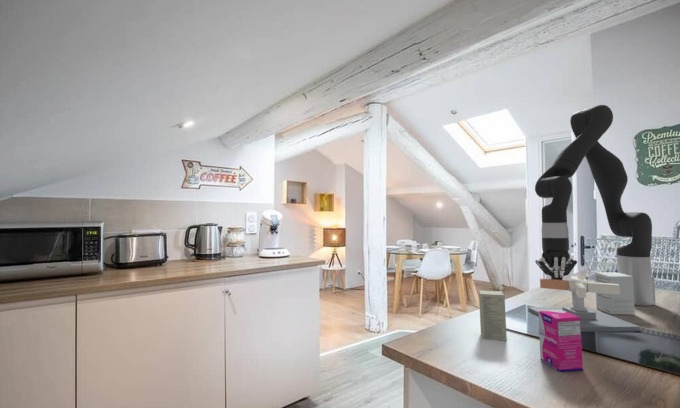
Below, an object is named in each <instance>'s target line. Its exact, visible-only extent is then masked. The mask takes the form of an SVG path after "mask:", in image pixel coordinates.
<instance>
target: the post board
mask: <svg viewBox="0 0 680 408" xmlns="http://www.w3.org/2000/svg"><path fill="white" fill-rule="evenodd" d="M571 298H572V299H571V302H572V303H571V304H572V305H570V306H542V307H541V306H539V307H538V306H535V307H534V306H533V307H527V308H528V312H530V313H532V314H534V315H536V316H538V317H539V313H538V311H544V310H558V309H561V310H563V311H566V312H568V313H571V314H573V315H576V316H579V317H580V320H581V333H582V332H583V333H585V332H594V333H595V332H640V331H641V330H642V329H641V328H642V327H641V326H640V325H637V324H634V323H633V322H629V321H627V320H624V319H621V318H618V317H616V316H613V315H612V314H609V313H606V312H604V311H601V310H596V309H595V308H591V307H589V306H585V298H579V297H578V296H577V294H576V292H572V291H571Z"/></svg>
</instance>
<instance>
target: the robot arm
mask: <svg viewBox="0 0 680 408" xmlns="http://www.w3.org/2000/svg"><path fill="white" fill-rule="evenodd" d="M613 114H614V113H613V111H612V109H611V108H610V107H609V106H608V105H605V104H599V105H593V106H590V107H587V108H585V109H581V110H577V111H576V112H573V114H571V116H570V129H571V130H572V133H573V135H574V137H575V139H574V140H572V141H571V142H570V143H569V144H567V145H566V146H565V147H564V148H563V149H562V150H561V151H560V152H559V154H558V155H557V157H556V158H555V160H554V162H553V164H552V166H549V168H548V169H546V171H545V172H544V173H543V174H541V175H540V177H539V178H538V179H537V180H536V182H535V186H534V191H535V194H536V195H537V197H540V198H542V199H551V198H552V201H551V202H550V204H547V205H544V206H542V208H541V249H542V253H541V258H539V259H536V260H535V264H536V265H537V266H538V267H539V269H540V270H541V271H542V272H543V273H544V275H547V276H549V277H550V279H555V280H564V279H563V278H564V277H566V276H569V275H570V273H571V272H572V271H573V269H574V268H575V267H576V265H577V264H578V261H577V260H576V259H575V260H574V259H573V258H571V255H570V253H569V250H570V241H569V240H570V237H569V235H570V233H569V226H568V216H567V215H568V213H567V212H568V211H567V210H568V207H569V202H570V198H571V196H572V192H573V191H572V190H573V186H572V182H571V180H570V178H572V177H574V175H575V174H576V172H577V170H578V169H579V166H581V164H582V162H583V160H584V158H585V159H586V161H587V164H588V166H589V169H590V172H591V174H592V177H593V179H594V182H595V185H596V187H597V189H598V192H599V195H600V197H601V201H602V203H603V207H604V210H605V215H606V220H607V222H608V226H609V228H610V231H611V232H612V234H614V235H615V236H616V237H622V238H631V242H630V243H628V244H627V245H621V246H618V247H617V248H616V261H617V273H621V274H626V275H630V276H633V289H634V306H642V307H643V306H645V307H649V306H654V305H656V304H657V302H656V286H655V284H656V283H655V277H652V264H651V262H652V260H651V251H652V248H653V245H652V244H653V223H652V222H653V221H652V219H651V217H650V216H649V214H648V213H645V212H625V211H624V209H623V207H622V203H621V202H622V201H621V200H622V196H623V194H624V191H625V189H626V187H627V185H628V173H627V172H626V169H625V167H624V164H623V162H622V160H621V159H620V158H619V157H618V156H616V154H614V153H613V152H611V151H609V150H608V149H607V148H606V147H604V146H603V145H602V144H601V143H600V142H599V140H600V139H601V137H603V135H604V134H605V133H606V132H607V131H608V130H609V128H610V127H611V125H612V124H613V121H614V115H613ZM546 264H547V265H546Z"/></svg>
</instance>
